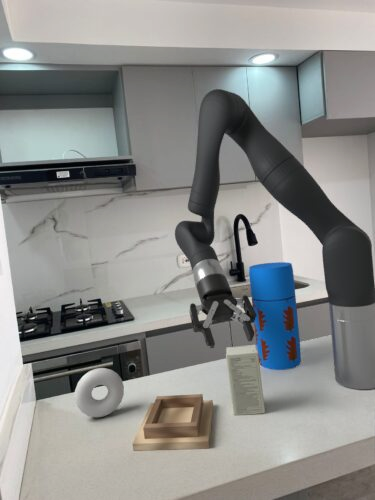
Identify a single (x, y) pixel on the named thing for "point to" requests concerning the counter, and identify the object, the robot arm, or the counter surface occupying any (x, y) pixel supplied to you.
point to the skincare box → (245, 380)
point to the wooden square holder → (176, 423)
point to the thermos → (275, 315)
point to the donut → (90, 382)
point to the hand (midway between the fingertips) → (232, 342)
